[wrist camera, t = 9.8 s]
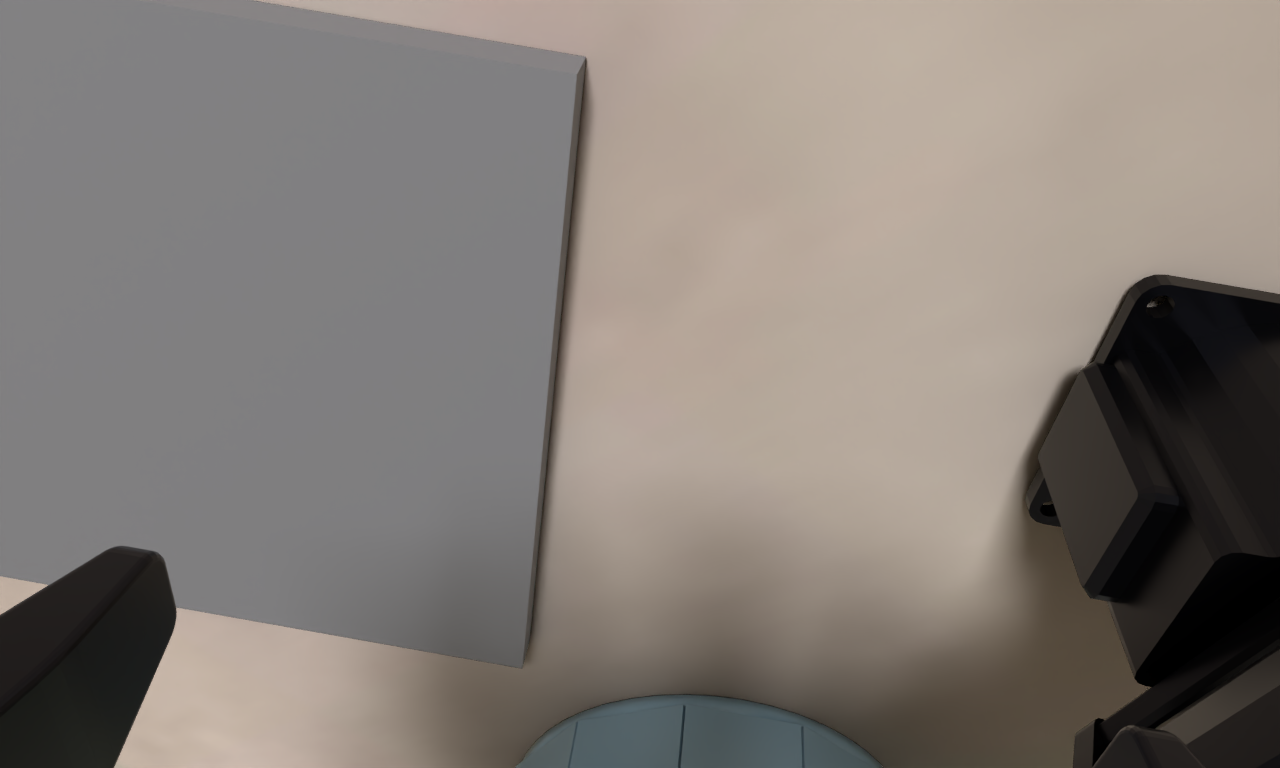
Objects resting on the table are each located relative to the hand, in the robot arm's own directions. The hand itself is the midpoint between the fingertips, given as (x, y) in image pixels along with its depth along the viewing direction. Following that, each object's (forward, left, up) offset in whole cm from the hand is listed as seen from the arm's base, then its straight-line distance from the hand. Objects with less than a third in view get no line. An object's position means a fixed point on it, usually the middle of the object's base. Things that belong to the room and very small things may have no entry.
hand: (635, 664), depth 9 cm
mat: (+11, +7, -12) cm, 18 cm away
